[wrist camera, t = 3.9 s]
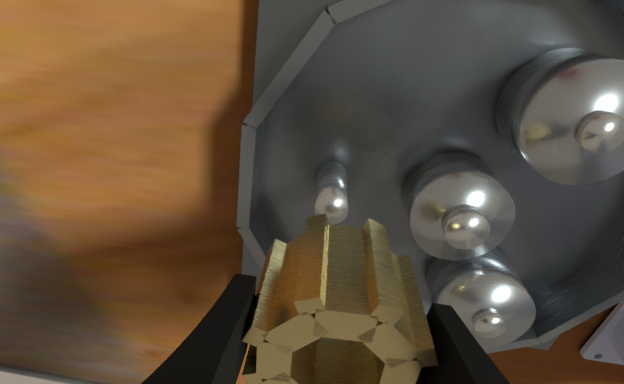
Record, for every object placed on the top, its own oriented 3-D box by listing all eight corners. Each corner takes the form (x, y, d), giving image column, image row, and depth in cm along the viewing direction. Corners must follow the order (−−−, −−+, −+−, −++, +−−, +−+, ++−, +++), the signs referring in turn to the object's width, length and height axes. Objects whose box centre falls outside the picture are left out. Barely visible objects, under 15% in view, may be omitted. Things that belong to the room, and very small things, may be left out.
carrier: (773, 2, 14) (953, 9, 10) (538, 334, 24) (580, 407, 20) (270, -87, 14) (241, -116, 10) (243, 288, 24) (223, 352, 20)
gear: (425, 225, 12) (459, 314, 9) (394, 332, 15) (410, 435, 12) (269, 206, 13) (241, 287, 9) (265, 317, 15) (242, 413, 12)
